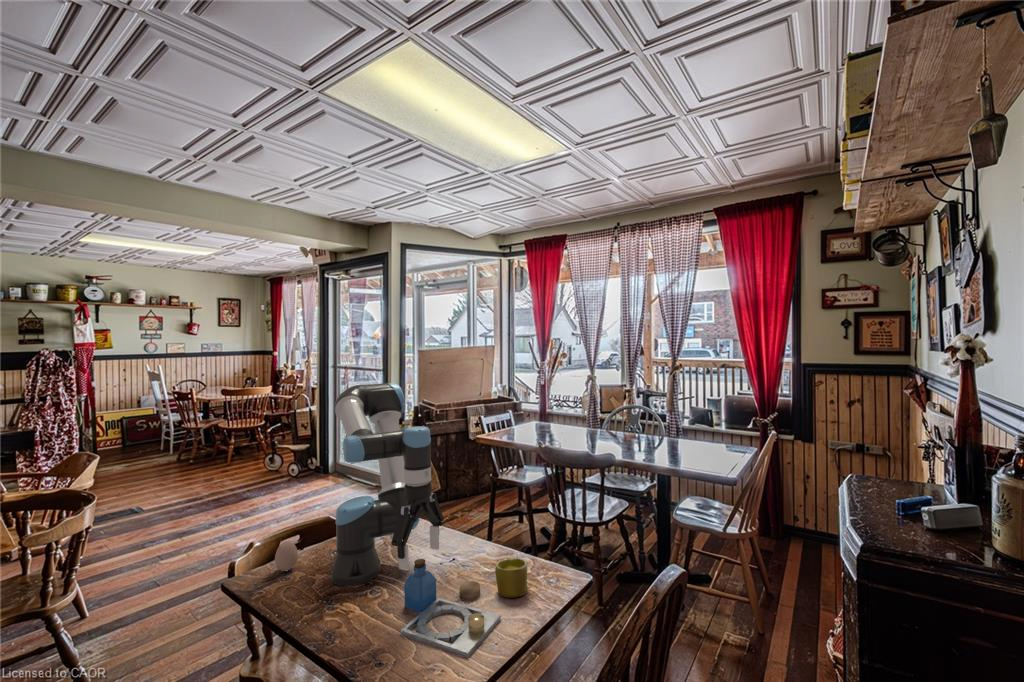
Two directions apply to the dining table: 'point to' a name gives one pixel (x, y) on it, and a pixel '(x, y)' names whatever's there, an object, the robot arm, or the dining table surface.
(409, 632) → the plate
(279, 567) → the egg
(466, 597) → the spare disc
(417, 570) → the perfume bottle
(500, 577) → the mug
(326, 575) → the dining table surface
